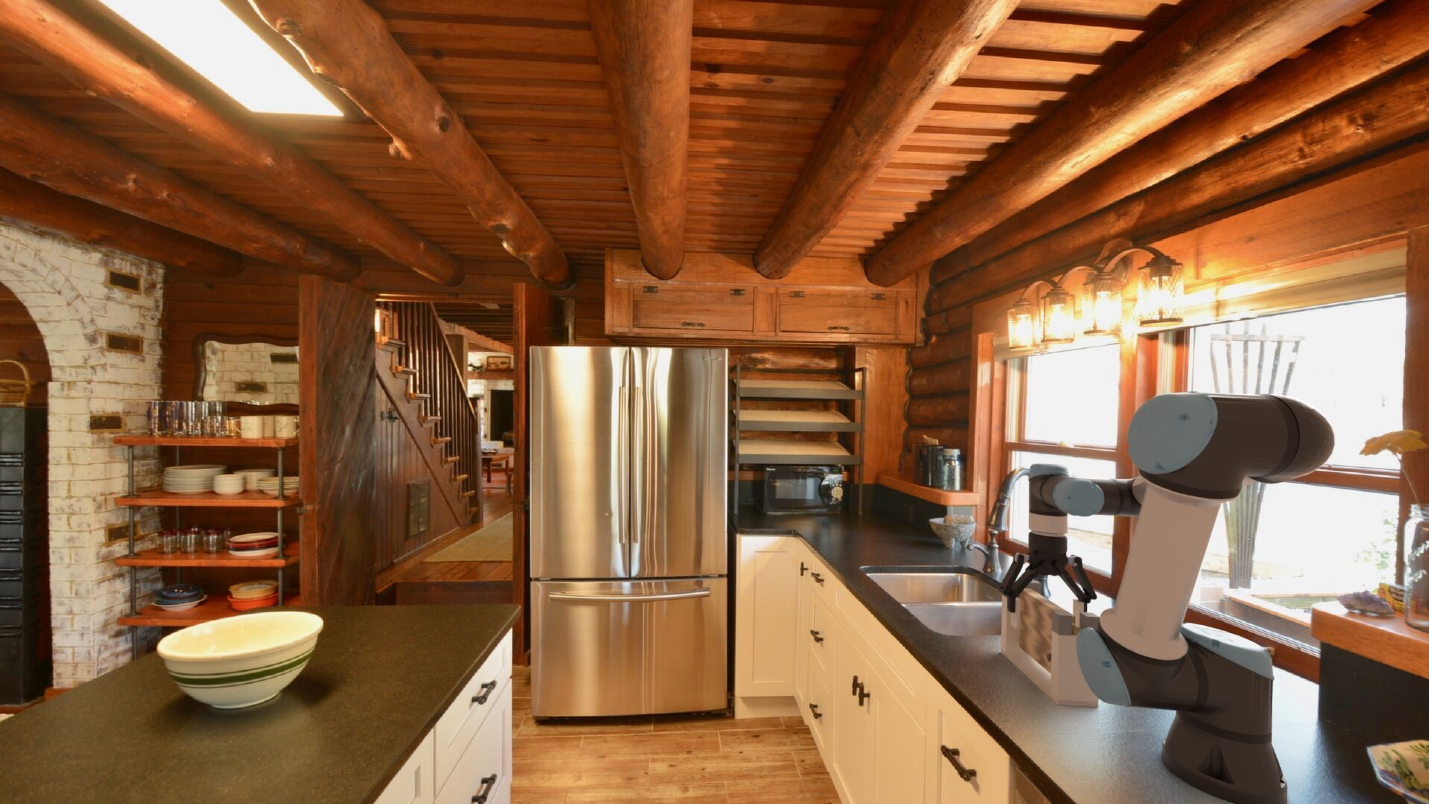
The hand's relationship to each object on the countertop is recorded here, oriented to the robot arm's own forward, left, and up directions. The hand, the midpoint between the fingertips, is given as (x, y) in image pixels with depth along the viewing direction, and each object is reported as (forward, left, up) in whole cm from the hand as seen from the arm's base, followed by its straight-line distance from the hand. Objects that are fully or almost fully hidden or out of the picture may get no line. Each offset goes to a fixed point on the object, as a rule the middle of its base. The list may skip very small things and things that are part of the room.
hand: (1046, 629), depth 124 cm
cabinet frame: (0, 0, -11) cm, 11 cm away
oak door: (0, 0, -8) cm, 8 cm away
